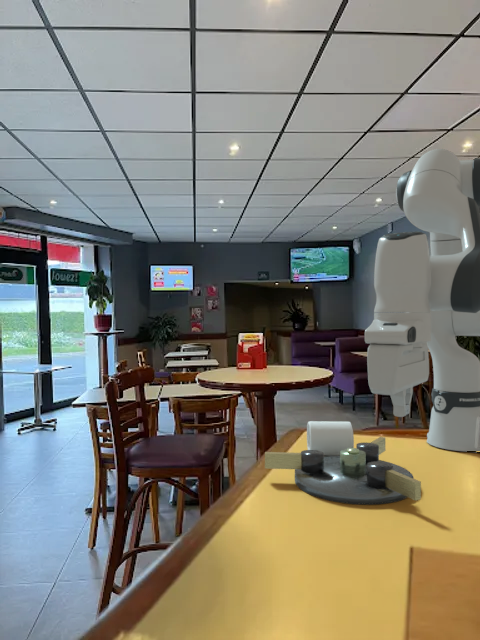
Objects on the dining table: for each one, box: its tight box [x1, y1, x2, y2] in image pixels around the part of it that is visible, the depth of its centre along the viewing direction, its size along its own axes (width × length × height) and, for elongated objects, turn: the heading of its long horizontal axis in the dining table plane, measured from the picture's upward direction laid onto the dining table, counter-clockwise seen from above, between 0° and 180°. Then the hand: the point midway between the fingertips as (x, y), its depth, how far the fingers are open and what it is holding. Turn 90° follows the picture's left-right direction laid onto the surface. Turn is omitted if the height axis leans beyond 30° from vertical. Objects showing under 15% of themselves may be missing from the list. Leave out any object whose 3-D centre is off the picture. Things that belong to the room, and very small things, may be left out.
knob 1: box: [264, 449, 325, 474], centre depth 100 cm, size 12×5×3 cm, turn 85°
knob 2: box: [355, 436, 386, 464], centre depth 108 cm, size 12×5×3 cm, turn 145°
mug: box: [306, 420, 355, 457], centre depth 120 cm, size 12×10×8 cm
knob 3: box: [367, 461, 422, 501], centre depth 88 cm, size 12×5×3 cm, turn 25°
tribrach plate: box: [294, 447, 415, 506], centre depth 99 cm, size 23×23×7 cm
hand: (401, 415), depth 81 cm, fingers closed
